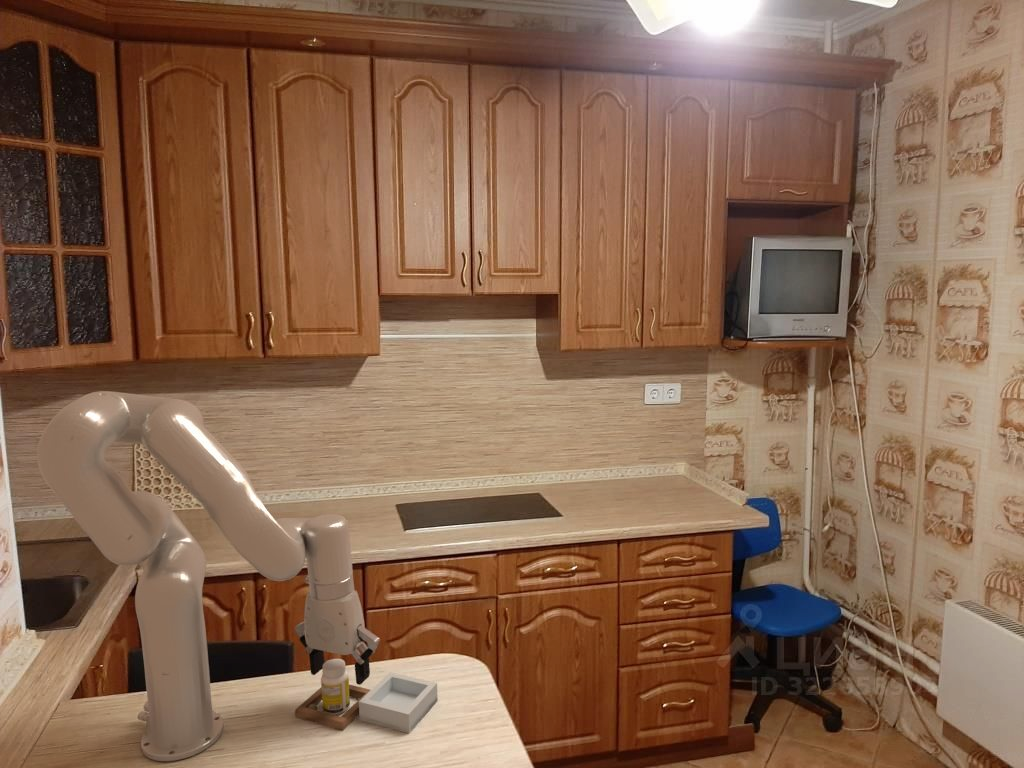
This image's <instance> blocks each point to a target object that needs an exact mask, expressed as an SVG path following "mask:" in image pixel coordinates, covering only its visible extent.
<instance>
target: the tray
mask: <svg viewBox="0 0 1024 768" xmlns="http://www.w3.org/2000/svg"><path fill="white" fill-rule="evenodd" d="M370 690H371V689H369V688H364V687H361V686H357V685H353V684H349V697H350V696H352V697H351V698H354V697H355V698H354V699H358V698H359V699H358V700H357V701H356V702H355V703H354V704H352V706H350V707H349V708H348V709H347V710H346V711H345V712H343V713H342V715H341V716H339V715H332V714H329V713H325V712H324V711H322V710H317V709H318V707H317V705H319V704H320V703H321V702H322V701H321V700H322V687H320V688H318V689H317V690H316V691H315V692H314V693H313V694H311V695H310V696H309V697H308V698H306V700H304V701H303V702H302V703H301V704H300V705H298V706H297V707H296V708H295V709H294V713H295V715H294V716H295V718H297V719H300V720H304V721H308V722H311V723H315V724H318V725H321V726H325V727H329V728H333V729H336V730H340V731H344V730H345V729H346V728H347V727H348V726H349V725H350V724H352V723H353V721H354V720H355V719H356V718H357V717H359V701H360V700H361V699H362V698H363V697H364V696H365V695H366V694H367V693H368V692H369V691H370ZM320 701H321V702H320ZM319 702H320V703H319ZM318 703H319V704H318Z"/></svg>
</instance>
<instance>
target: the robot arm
mask: <svg viewBox="0 0 1024 768" xmlns="http://www.w3.org/2000/svg"><path fill="white" fill-rule="evenodd" d="M113 443H122V444H124V443H126V444H135V445H143V446H144V448H145V449H146V451H148V453H149V454H150V455H151V456H152V457H153V458H154V459H155V460H156V461H157V462H158V463H159V464H160V465H161V466H162V468H163V467H164V469H165V470H166V471H167V472H168V473H170V474H171V476H172V477H173V478H174V479H175V480H176V481H177V482H178V483H179V484H181V486H182V487H184V488H185V490H186V491H188V493H189V494H191V496H192V497H193V498H195V500H197V501H198V503H199V504H201V506H202V507H203V510H204V511H205V512H206V514H207V515H208V516H209V518H210V519H211V521H212V522H213V523H214V524H215V525H216V527H217V528H218V529H219V531H220V532H221V533H222V534H223V536H224V538H225V539H226V540H227V541H228V543H230V545H231V546H232V547H233V548H234V550H235V551H236V552H237V553H238V554H239V555H240V556H241V557H242V558H243V559H244V560H246V561H247V563H248V564H249V565H251V566H252V567H253V568H254V570H256V572H258V573H259V574H261V576H263V577H265V578H266V579H269V580H272V581H276V582H284V581H287V580H290V579H292V578H294V577H296V576H297V575H298V574H299V573H300V572H301V571H302V569H303V568H304V564H305V562H306V566H307V575H306V577H305V580H304V582H305V583H306V584H308V585H309V586H308V587H309V588H308V589H309V591H308V592H307V593H306V596H305V597H306V598H305V605H304V621H301V622H299V624H297V625H296V626H295V627H294V630H295V632H296V633H297V636H298V637H299V641H300V643H301V645H302V646H303V647H304V648H305V649H304V652H305V653H306V654H308V656H309V666H310V674H311V675H312V676H315V675H317V674H318V673H319V672H320V671H321V670H322V666H323V664H324V663H325V662H326V660H325V654H324V653H326V652H327V653H332V654H338V655H342V656H349V655H352V657H353V658H354V659H355V661H356V663H355V664H354V673H355V674H354V675H355V682H356V684H357V685H359V686H361V685H362V684H363V683H364V682H365V681H366V680H367V679H369V677H370V674H371V669H370V657H371V656H372V655H373V654H374V653H375V652H376V651H377V648H378V646H379V643H380V641H381V640H380V639H381V638H380V637H378V636H377V635H375V634H374V633H373V632H371V631H370V630H368V629H367V628H366V627H365V625H366V624H365V619H364V618H365V617H364V613H363V608H362V603H361V601H360V597H359V593H358V591H357V590H356V589H355V584H354V583H355V582H354V571H353V560H352V551H351V550H352V548H351V539H350V526H349V522H348V520H347V519H346V518H345V516H343V515H341V514H337V513H336V514H335V513H326V514H321V515H318V516H317V515H316V516H315V517H314V516H313V517H279V518H274V517H273V515H272V514H271V513H270V511H268V509H267V508H266V506H265V505H264V504H263V502H262V501H261V499H260V497H259V496H258V494H257V491H256V490H255V488H254V485H253V483H252V480H251V477H250V475H248V472H247V471H246V470H245V468H244V467H243V466H242V465H241V463H240V462H239V461H238V460H237V459H235V458H234V456H232V454H231V453H230V452H229V451H228V450H227V449H226V448H225V447H224V446H223V445H222V444H221V443H220V442H219V440H217V439H216V437H214V435H213V434H211V432H210V431H209V430H208V429H207V428H206V427H205V426H204V417H203V415H202V413H201V411H200V410H199V408H198V407H197V406H196V405H195V404H193V403H191V402H190V401H187V400H184V399H179V398H173V397H172V398H171V397H162V396H154V395H153V396H152V395H145V394H137V393H127V392H118V391H111V390H109V391H108V390H105V391H103V390H99V391H94V392H93V391H92V392H90V393H87V394H84V395H83V396H81V397H79V398H78V399H75V400H74V401H72V402H70V403H69V404H67V405H66V406H64V407H63V408H61V410H59V411H58V412H57V413H56V414H55V415H54V417H52V419H51V420H50V421H49V422H48V424H47V425H46V427H45V428H44V431H43V432H42V433H41V436H40V438H39V441H38V444H37V449H36V450H37V451H36V460H37V461H36V462H37V467H38V469H39V472H40V475H41V476H42V479H43V480H44V482H45V483H46V485H47V486H48V487H49V489H50V490H51V491H52V492H53V493H54V495H55V496H56V497H57V499H58V500H59V501H60V502H61V503H62V504H63V506H65V508H66V509H67V510H68V512H69V513H70V514H71V516H72V517H73V518H74V520H75V521H76V522H77V523H78V525H79V526H80V527H81V528H82V530H83V531H84V533H85V534H86V535H87V536H88V537H89V538H90V540H91V541H92V543H94V545H95V546H96V547H97V548H98V549H99V552H101V554H102V555H103V556H104V557H105V558H106V559H107V560H108V561H110V562H111V563H113V564H115V565H118V566H122V567H133V566H137V565H139V566H140V567H141V569H142V572H141V575H140V577H139V579H138V582H137V584H136V589H135V595H134V606H135V612H136V613H135V614H136V617H137V621H138V627H139V633H140V639H141V649H142V657H143V665H144V666H143V667H144V678H145V687H146V688H145V689H146V698H147V699H146V700H147V701H146V702H144V705H143V710H142V711H139V713H138V714H137V719H138V720H140V721H142V722H146V731H145V732H144V733H143V735H142V737H141V740H140V747H141V749H140V750H141V752H142V753H143V755H144V756H145V757H146V758H148V759H150V760H153V761H157V762H158V761H159V762H173V761H179V760H184V759H187V758H189V757H190V758H191V757H193V756H196V755H197V754H200V753H201V752H203V751H206V750H207V749H208V748H210V747H211V746H213V744H215V743H216V742H217V741H218V740H219V738H220V737H221V735H222V733H223V731H224V720H223V717H222V716H221V714H219V713H218V712H216V711H214V710H213V705H212V704H213V703H212V691H211V677H210V665H209V654H208V643H207V632H206V630H207V629H206V623H205V622H206V620H205V615H204V608H203V607H204V606H203V585H204V582H205V581H204V580H205V574H206V571H207V570H206V569H207V561H206V554H205V552H204V551H203V549H202V547H201V546H200V544H199V543H198V542H197V540H196V539H195V537H194V536H193V535H192V534H191V532H190V531H189V530H188V528H187V527H186V526H185V524H183V522H182V520H181V519H180V518H179V517H178V515H177V514H176V513H175V512H174V510H173V509H172V508H171V506H170V505H169V504H168V503H167V502H166V501H165V500H164V499H163V498H161V497H160V496H158V495H156V494H155V493H152V492H149V491H146V490H145V491H144V490H132V489H131V488H130V487H129V485H128V484H127V483H126V481H125V480H124V479H123V477H122V476H121V474H119V473H118V472H117V470H116V469H115V468H113V467H112V466H111V465H110V464H109V463H108V462H107V460H106V458H105V452H106V450H107V449H108V448H109V447H111V445H112V444H113ZM365 642H366V643H367V644H366V643H365ZM358 649H359V650H358ZM360 651H361V652H362V653H360Z"/></svg>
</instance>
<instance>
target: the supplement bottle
mask: <svg viewBox="0 0 1024 768" xmlns="http://www.w3.org/2000/svg"><path fill="white" fill-rule="evenodd" d="M346 667H347V666H346V662H345V660H344V659H341V658H332V659H328V660H325V663H324V664H323V666H322V669H321V670H322V672H321V673H322V675H321V678H320V684H321V687H322V701H321V702H322V703H321V704H322V710H323V711H322V712H325V713H329V714H332V715H336V716H339V715H341V714H344V713H345V712H346V711H348V710H349V709H350V707H351V697H350V696H349V685H350V683H349V680H350V679H349V673H348V671H347V670H346V669H347V668H346ZM321 687H320V688H321Z"/></svg>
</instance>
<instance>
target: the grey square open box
mask: <svg viewBox="0 0 1024 768" xmlns="http://www.w3.org/2000/svg"><path fill="white" fill-rule="evenodd" d="M438 699H439V697H438V683H437V682H433V681H430V680H425V679H420V678H417V677H412V676H408V675H405V674H404V675H403V674H400V673H395V672H392V671H389V672H387V674H386V675H385V676H384V677H383V678H382V679H381V680H379V682H378V683H377V684H376V685H374V687H372V689H370V691H369V692H368V693H367V694H366V695H365V696H364V697H363V698H362V699H361V700H360V701H359V715H358V717H359V721H362V722H365V723H369V724H373V725H377V726H381V727H385V728H388V729H392V730H396V731H398V732H403V733H407V734H410V733H411V732H413V730H414V729H415V728H416V727H417V725H418V724H419V723H420V722H421V721H422V720H423V718H424V717H425V716H426V715H427V714H428V713H429V711H431V709H432V708H433V707H434V706H435V705H436V704H437V702H438Z"/></svg>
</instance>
